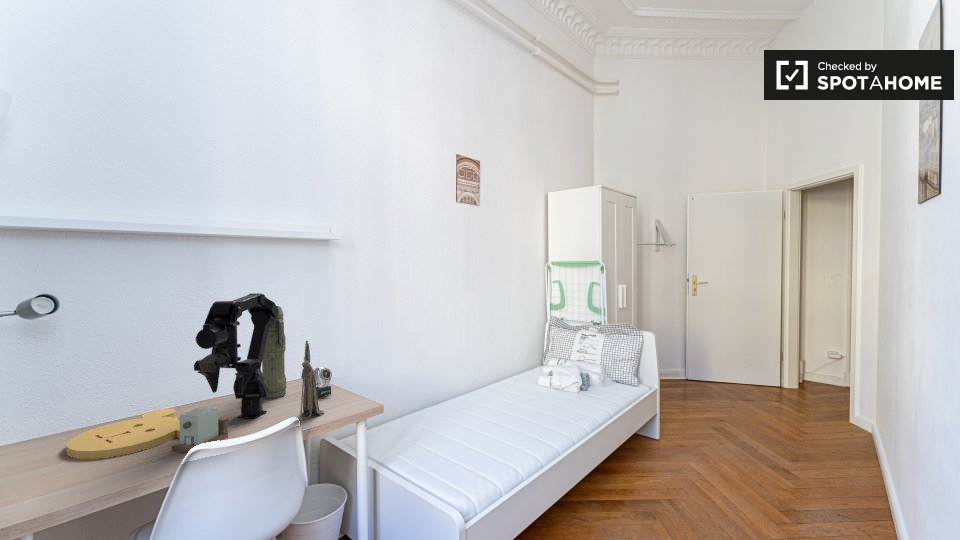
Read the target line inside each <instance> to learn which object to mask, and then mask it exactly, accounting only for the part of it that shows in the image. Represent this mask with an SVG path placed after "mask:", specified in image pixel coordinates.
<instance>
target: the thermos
mask: <svg viewBox="0 0 960 540" xmlns="http://www.w3.org/2000/svg"><path fill="white" fill-rule="evenodd" d="M276 306H277V307H278V310H279V314H278V316H277V319H276V322H275V324H274V325H273V326H272V327H271V328H270V329H269V331H268V336H267V341H266V345H265V350H264V355H263V359H262V364H261V368H262V369H261V372H262V374H263V376H264V381H263V382H264V383H265V385H266V386H267V387H268V394H267V397H263V398H262V400H274V399H273V398H276V399H279V398H278V397H281V398H283V397H285V396H286V395H287V390H286V389H287V377H286V373H285V372H286V371H285V369H286V367H285V352H286V348H287V347H286V342H287V341H286V335H285V322H284V321H285V320H284V311H283V309H282V307H281V306H280V305H276ZM285 394H286V395H285ZM284 395H285V396H284ZM282 396H283V397H282Z"/></svg>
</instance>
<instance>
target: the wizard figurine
mask: <svg viewBox="0 0 960 540" xmlns="http://www.w3.org/2000/svg"><path fill="white" fill-rule="evenodd" d="M304 345H305V346H304V357H303V362H302V363H301V366H302V371H301V376H300V377H301V378H300V379H302V386H301V402H300V412H299V413H300V414H299V415H300V418H302V413H303V412H306V413H305V414H306V415H308V416H307V417H306V419H310V418H311V417H312V416H313V413H315V414H317V415H318V416H321V417H322V416H323V415H324V414H325V411H324V410H321V409H320V405H319V400H318V399H319V398H317V390H316V387H317V386H316V381H315V376H314V370H315V369H314V368H313V367H312V364H311V352H310V350H311V349H310V344H309V341H308V340H305V344H304Z"/></svg>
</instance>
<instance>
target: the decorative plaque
mask: <svg viewBox="0 0 960 540" xmlns="http://www.w3.org/2000/svg"><path fill="white" fill-rule="evenodd" d="M176 413H177V412H176V409H175V408H161V409H155V410H151V411H148V412H146V413H144V414H141V417H139V418H135V419H134V418H133V419H128V420H122V421H118V422H113V423H109V424H105V425H103V426H99V427H95V428H93V429H90V430H89V429H88V430H87V431H83V432H82V433H80V434H77V435H76V436H74V437H73V438H70V440H69V441H68V442H67V443H66V455H67V456H68V455H69V456H70V457H69V456H68V457H69V458H72V457H73V458H72V459H75V458H76V460H98V459H99V460H101V459H100V458H102V459H109V457H111V458H114V457H113V456H116V457H120V455H122V456H126V455H125V454H127V455H132V454H134V453H139V452H142V451H141V450H143V451H145V449H146V450H149V448H150V449H153V448H154V447H157V445H158V446H160V445H159V444H161V445H163V444H165V442H166V443H167V442H170V441H172V440H174V439H175V438H177V437H178V438H177V439H180V426H179V417H177V416H176V415H177V414H176ZM175 417H176V418H175ZM174 437H175V438H174ZM162 443H163V444H162ZM138 451H139V452H138ZM131 453H132V454H131Z"/></svg>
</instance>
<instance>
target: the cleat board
mask: <svg viewBox="0 0 960 540" xmlns="http://www.w3.org/2000/svg"><path fill="white" fill-rule="evenodd" d="M228 420H229V419H228V418H220V417H218V436H216V437H214V438H212V439H210V440H208V441H206V442H211V441H217V440H221V441H223V440H225V439H227V438H228V437H229V428H228V427H229V425H228V424H229V423H228ZM206 442H204V443H206ZM194 446H196V445H194V437H190V436H188V437H186V444H180V441H179V442H177V443H175V444H173V445H171V452H174V451H176V452H175V453H177V451H178V453H188V451H189V450H190V449H191V448H193V447H194Z"/></svg>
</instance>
